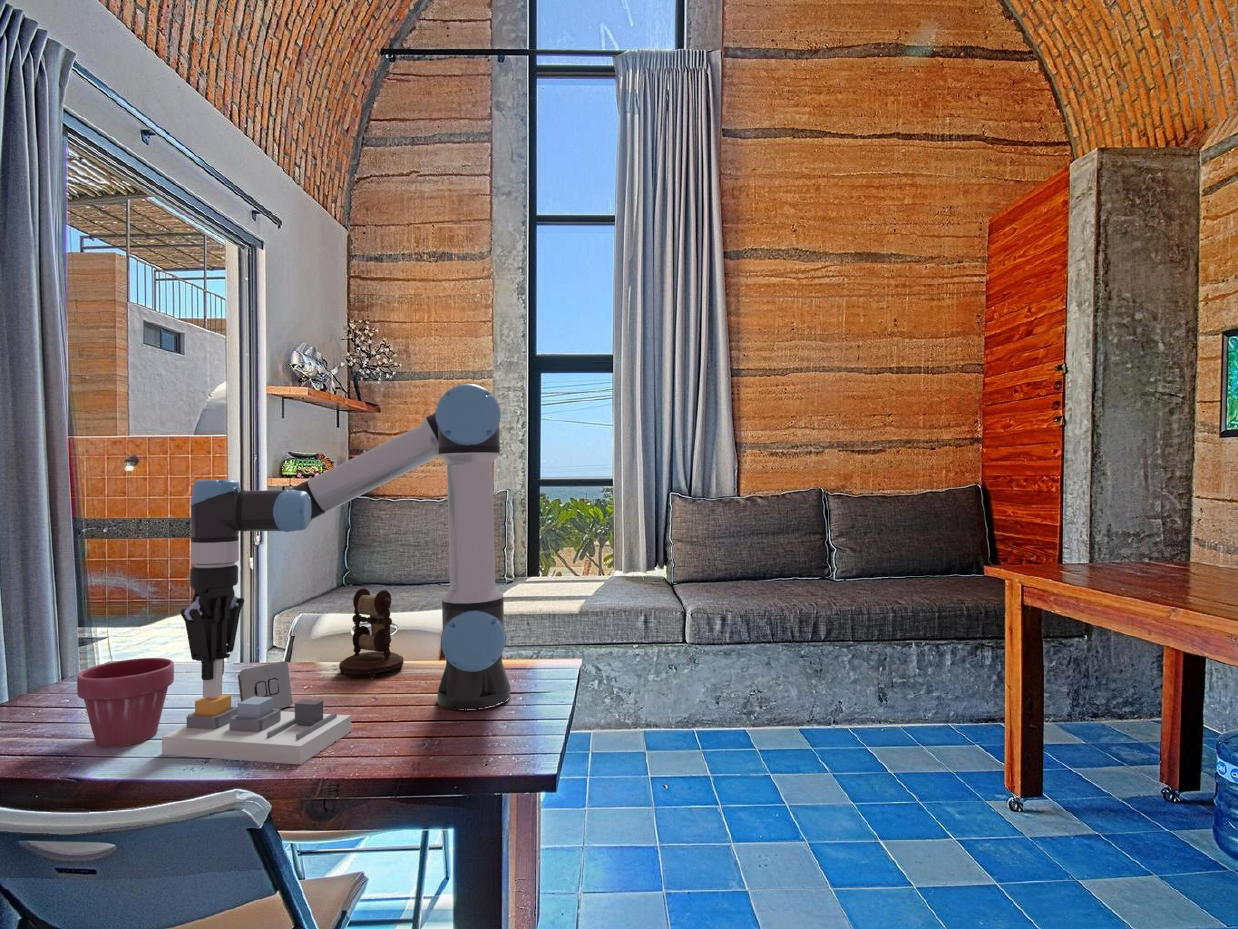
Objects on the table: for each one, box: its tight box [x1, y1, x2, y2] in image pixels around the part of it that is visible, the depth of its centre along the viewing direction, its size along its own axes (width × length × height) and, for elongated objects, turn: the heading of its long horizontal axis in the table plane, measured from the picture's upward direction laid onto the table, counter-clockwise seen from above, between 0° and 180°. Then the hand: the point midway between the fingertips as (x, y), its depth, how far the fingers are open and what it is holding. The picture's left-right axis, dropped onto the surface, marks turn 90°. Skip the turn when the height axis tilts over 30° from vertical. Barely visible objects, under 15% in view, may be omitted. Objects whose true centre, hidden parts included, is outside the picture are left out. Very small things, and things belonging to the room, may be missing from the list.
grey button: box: [237, 696, 273, 719], centre depth 124 cm, size 4×4×3 cm
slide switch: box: [294, 698, 324, 725], centre depth 124 cm, size 4×2×4 cm, turn 80°
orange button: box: [194, 694, 232, 716], centre depth 125 cm, size 4×4×3 cm
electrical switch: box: [237, 660, 294, 709], centre depth 141 cm, size 9×5×9 cm, turn 141°
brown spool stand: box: [338, 588, 404, 679], centre depth 170 cm, size 15×15×20 cm
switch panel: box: [161, 705, 352, 765], centre depth 123 cm, size 26×15×5 cm, turn 80°
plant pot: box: [76, 657, 175, 748], centre depth 126 cm, size 14×14×13 cm
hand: (212, 696), depth 125 cm, fingers closed
